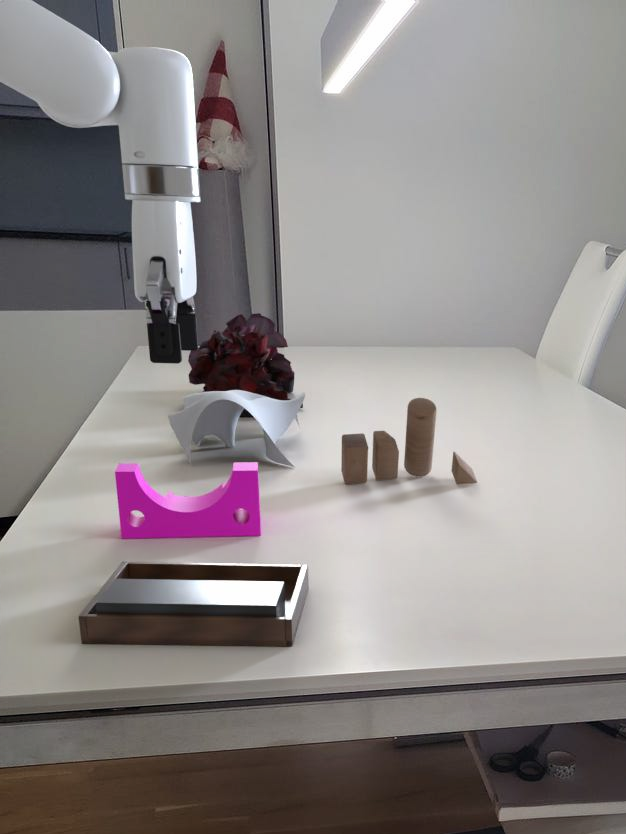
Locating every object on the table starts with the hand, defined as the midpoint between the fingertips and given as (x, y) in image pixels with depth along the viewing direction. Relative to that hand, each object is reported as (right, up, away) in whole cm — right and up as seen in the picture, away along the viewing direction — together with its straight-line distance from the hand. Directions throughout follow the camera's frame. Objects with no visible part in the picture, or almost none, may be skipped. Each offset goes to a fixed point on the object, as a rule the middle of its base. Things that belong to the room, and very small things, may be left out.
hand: (175, 356), depth 113 cm
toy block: (+1, -19, +5) cm, 19 cm away
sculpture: (-3, -2, +43) cm, 43 cm away
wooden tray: (+8, -29, -19) cm, 35 cm away
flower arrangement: (-10, +13, +77) cm, 78 cm away
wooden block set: (+23, -9, +29) cm, 39 cm away
